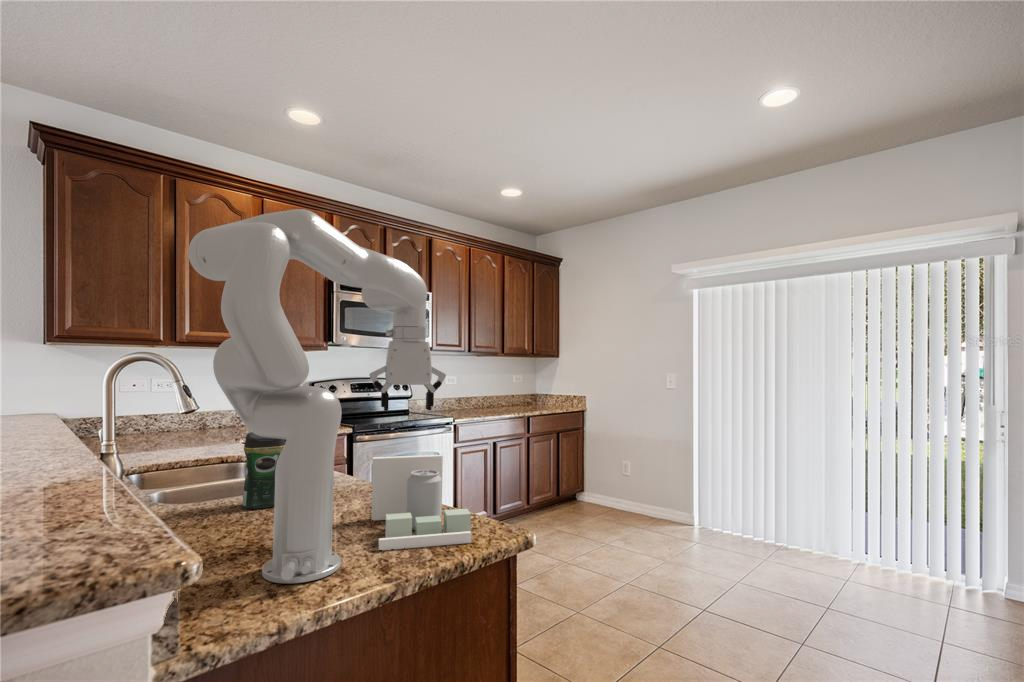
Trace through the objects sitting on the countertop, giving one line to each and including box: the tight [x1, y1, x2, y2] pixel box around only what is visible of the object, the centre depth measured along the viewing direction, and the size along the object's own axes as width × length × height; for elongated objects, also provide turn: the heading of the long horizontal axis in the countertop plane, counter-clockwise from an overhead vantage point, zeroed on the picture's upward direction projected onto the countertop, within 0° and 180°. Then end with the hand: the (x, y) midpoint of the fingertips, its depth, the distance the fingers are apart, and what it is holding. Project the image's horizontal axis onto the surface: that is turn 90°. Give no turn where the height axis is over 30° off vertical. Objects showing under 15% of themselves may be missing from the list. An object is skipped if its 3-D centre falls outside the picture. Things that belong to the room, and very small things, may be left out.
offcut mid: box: [414, 516, 443, 536], centre depth 106 cm, size 4×5×4 cm
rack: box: [371, 454, 472, 551], centre depth 111 cm, size 22×19×14 cm
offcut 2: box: [443, 508, 472, 533], centre depth 108 cm, size 4×5×5 cm
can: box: [407, 470, 442, 531], centre depth 114 cm, size 8×8×12 cm
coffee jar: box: [242, 431, 286, 510], centre depth 130 cm, size 10×8×19 cm
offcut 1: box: [384, 512, 413, 538], centre depth 104 cm, size 4×5×5 cm
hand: (407, 410), depth 118 cm, fingers open, 9 cm apart
